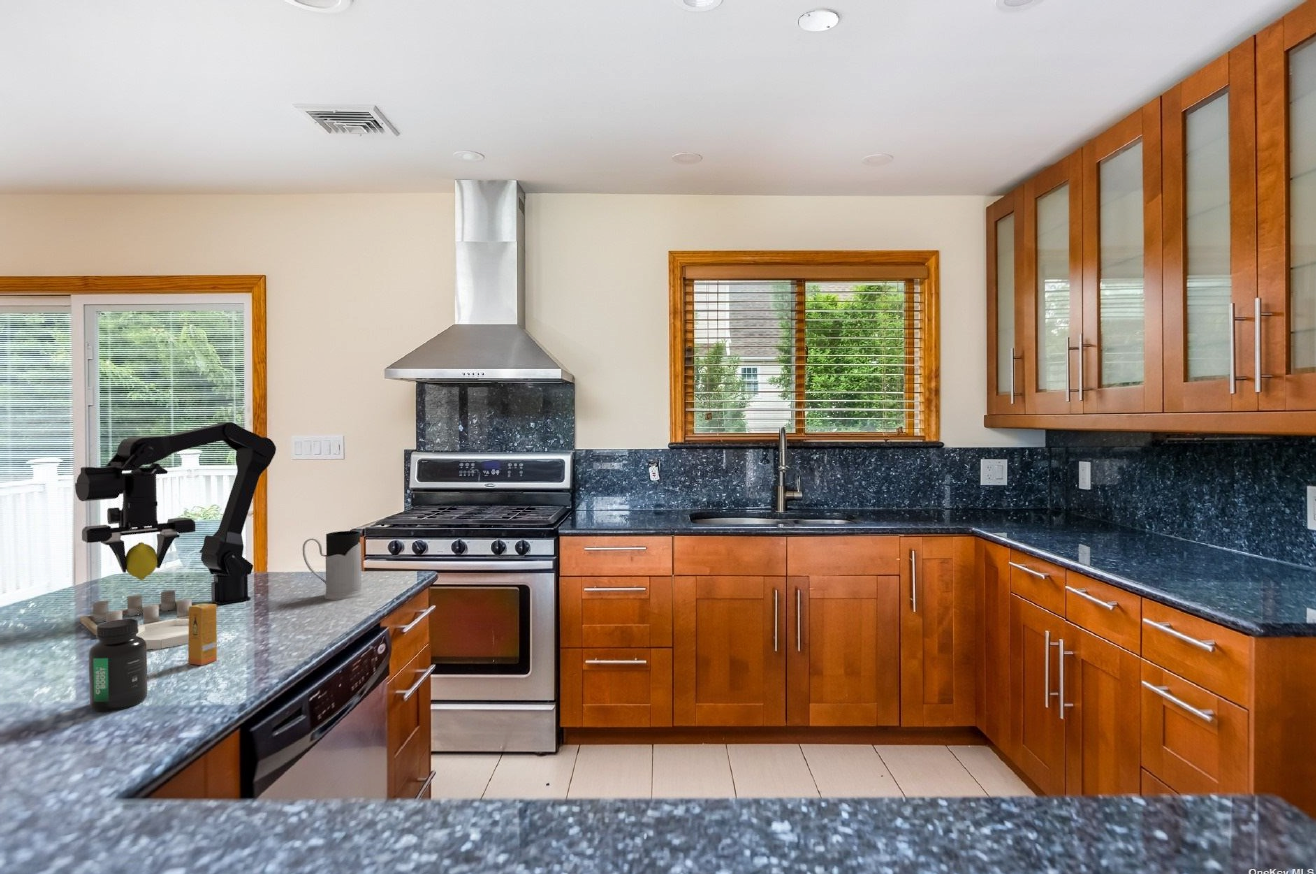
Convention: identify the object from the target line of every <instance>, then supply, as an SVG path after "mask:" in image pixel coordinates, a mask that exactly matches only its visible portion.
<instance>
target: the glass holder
mask: <svg viewBox="0 0 1316 874" xmlns="http://www.w3.org/2000/svg"><path fill="white" fill-rule="evenodd" d="M309 541H314V542H316V543H317V544H318V547H319V554H320V556H322V557H324V558H325V578H324V577H323V576H321V575H320V574H318V573H317V572H316V571H315V570H314V569H313V568H312V566H311V565H310V563H309V561H308V559H307V555H306V545H307V542H309ZM325 541H326V542H325V545H326V547H325V548H326V549H325V550H326V551H325V552H326V553H325V554H324V553H323V547H322V543H321V542H320V541H319V540H318V539H317V538H315V537H313V538H308V539H306V540H305V541H304V542H303V544H302V557H303V560H304V562H305V565H306V566H307V568H308V569H309V571H310V572H311V573H312V574H313V575H315V577H317V578H319V580H321V581H322V582H323V583H324V584H325V593H324V595H323V598H324V599H326V600H327V599H328V600H333V601H334V600H337V601H338V600H348V599H355V598H358V597H361V596H363V595H364V590H363V588H362V544H361V532H360V531H357V530H355V531H354V530H343V531H341V530H340V531H333V532H329V533H326V534H325Z"/></svg>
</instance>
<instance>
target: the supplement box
mask: <svg viewBox="0 0 1316 874" xmlns="http://www.w3.org/2000/svg"><path fill="white" fill-rule="evenodd" d="M217 606H218V603H215V604H213V603H198V604H197V603H196V604H194V605H193V604H192V606H189V638H188V644H187V645H188V649H187V650H188V654H187V655H188V656H187V657H188V658H187V659H188V660H187V664H189V665H197V666H205V665H208V664H210V663H213V662H217V661H218V655H217V654H218V653H217V652H218V651H217V650H218V648H217V647H218V645H217V644H218V641H217V640H218V636H217V635H218V633H217V631H218V630H217V626H218V625H217V624H218V621H217V620H218V618H217V616H218V615H217V612H218V611H217V609H218V608H217Z"/></svg>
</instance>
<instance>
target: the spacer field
mask: <svg viewBox="0 0 1316 874" xmlns="http://www.w3.org/2000/svg"><path fill="white" fill-rule="evenodd" d="M126 599H127V600H126V605H127V608H125V609H117V610H111V611H109V610H110V608H109V607H110V605H109V600H98V601H95V602H92V614H88V615H83V616H79V622H80V623H81V624H82V625H83V626H84V627H85V626H86V627H85V628H87V630H89V631H90V632H91V633H92V634H93V635H94V636H95V635H96V636H97V626H98V625H97V624H99V622H101V623H104V622H103V621H106V622H109V621H114V620H122V619H123V615H122V614H127V616H128V615H129V616H128V617H134V616H133V615H138V614H141V615H142V620H143V621H142V624H138V626H142V625H146V624H151V623H157V622H162V621H168V620H173V619H189V606H193V604H192V603H193V602H192V601H193V600H192V599H191V598H185V599H179V600H176V591H175V590H172V589H171V590H165V591H164V590H163V591H160V603H156V604H151V605H150V604H149V605H143V595H142V594H135V595H130V596H127V598H126ZM160 610H162V611H161V612H168V610H170V611H174V610H176V618H171V619H170V618H169V619H165V620H160V614H159V613H160ZM138 616H139V615H138ZM91 620H92V621H91ZM96 636H95V637H96Z"/></svg>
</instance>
